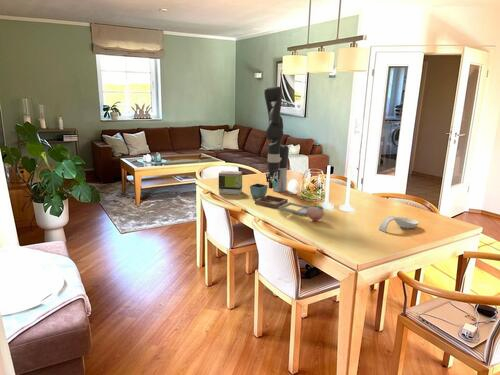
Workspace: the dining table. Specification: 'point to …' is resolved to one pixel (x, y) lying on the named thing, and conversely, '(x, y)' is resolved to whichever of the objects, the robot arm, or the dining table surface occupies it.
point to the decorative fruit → (315, 212)
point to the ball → (274, 184)
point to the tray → (300, 212)
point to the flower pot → (258, 190)
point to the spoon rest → (400, 221)
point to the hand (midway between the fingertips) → (272, 187)
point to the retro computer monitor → (230, 182)
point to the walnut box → (271, 201)
